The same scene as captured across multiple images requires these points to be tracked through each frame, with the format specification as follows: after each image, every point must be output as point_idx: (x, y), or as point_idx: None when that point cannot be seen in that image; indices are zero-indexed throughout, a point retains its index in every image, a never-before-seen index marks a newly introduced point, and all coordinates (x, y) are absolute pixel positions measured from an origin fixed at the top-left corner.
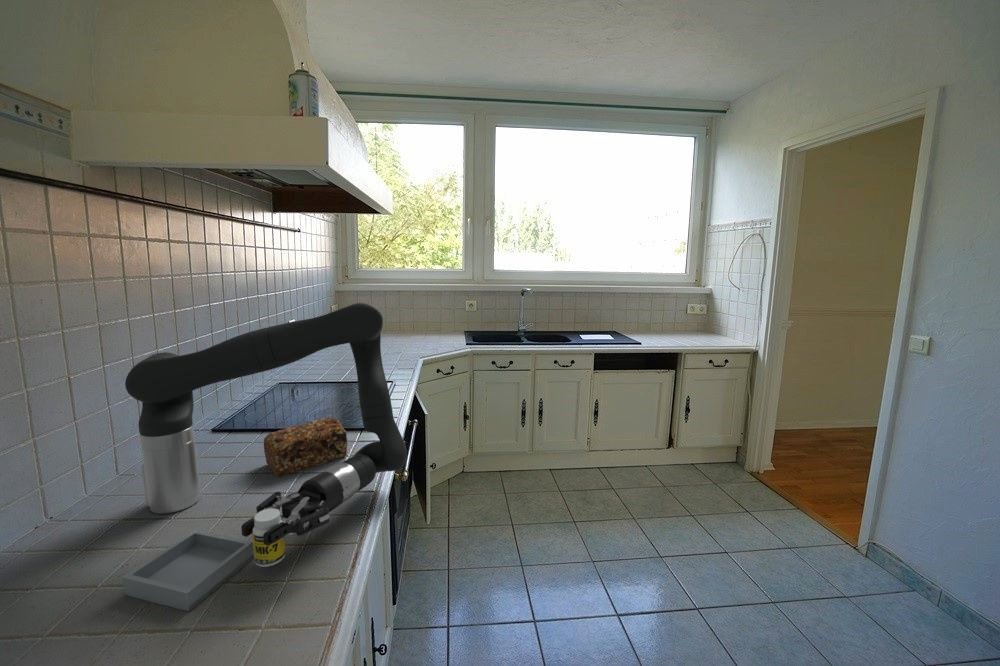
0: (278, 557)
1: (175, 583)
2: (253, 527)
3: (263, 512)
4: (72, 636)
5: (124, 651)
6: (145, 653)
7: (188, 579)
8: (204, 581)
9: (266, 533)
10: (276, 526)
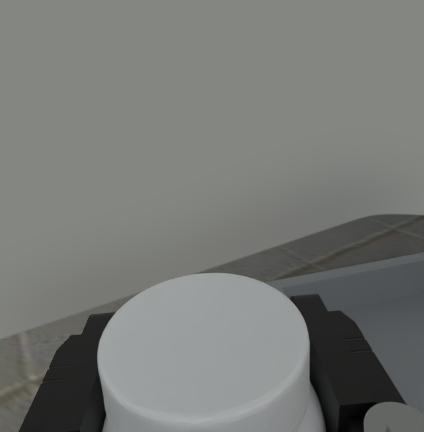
0: None
1: (400, 331)
2: None
3: (261, 326)
4: (363, 240)
5: (255, 260)
6: (220, 269)
7: (396, 352)
8: None
9: (101, 315)
10: (84, 372)
